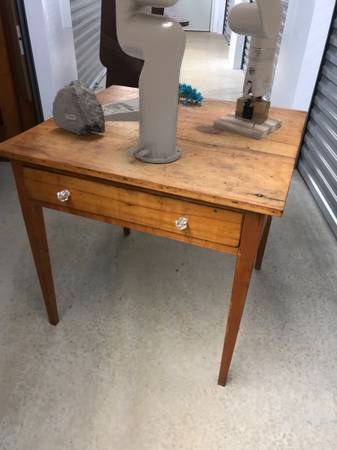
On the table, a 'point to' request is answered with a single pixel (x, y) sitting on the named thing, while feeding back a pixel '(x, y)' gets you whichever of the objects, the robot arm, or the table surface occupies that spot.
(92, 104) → the decorative rock
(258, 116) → the block
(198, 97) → the gear
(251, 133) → the board
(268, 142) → the table surface
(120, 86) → the table surface
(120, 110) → the ramp
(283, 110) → the table surface
